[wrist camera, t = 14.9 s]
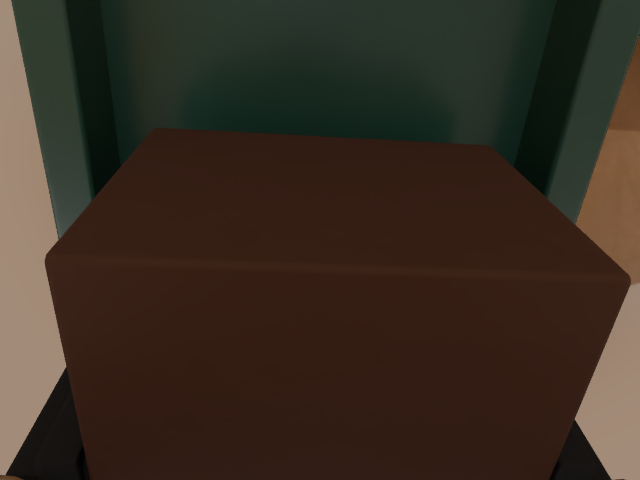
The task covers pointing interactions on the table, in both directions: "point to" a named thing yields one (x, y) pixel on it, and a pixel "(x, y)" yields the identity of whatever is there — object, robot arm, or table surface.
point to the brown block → (326, 312)
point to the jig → (326, 79)
